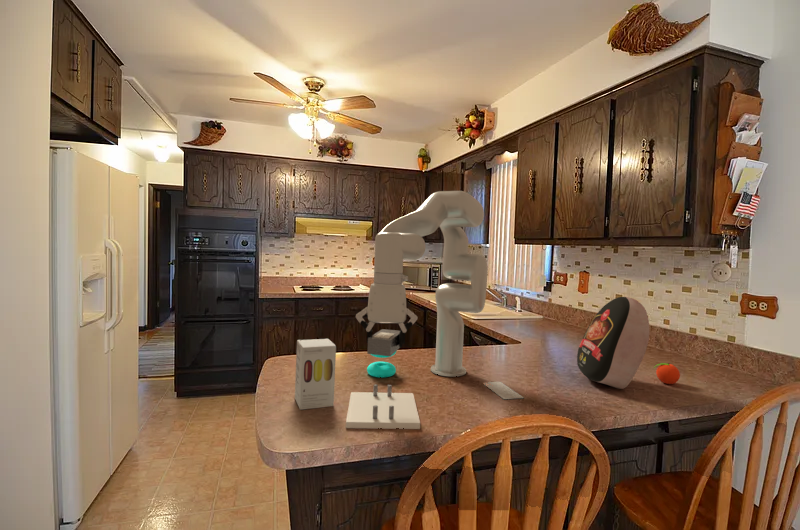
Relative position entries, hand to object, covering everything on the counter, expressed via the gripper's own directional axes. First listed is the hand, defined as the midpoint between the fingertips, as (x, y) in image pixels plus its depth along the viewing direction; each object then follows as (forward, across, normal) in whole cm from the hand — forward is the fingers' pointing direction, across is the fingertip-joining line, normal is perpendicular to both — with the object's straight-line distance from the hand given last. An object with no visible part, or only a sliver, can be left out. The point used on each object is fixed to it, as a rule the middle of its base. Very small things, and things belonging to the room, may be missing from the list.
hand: (385, 345), depth 109 cm
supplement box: (+18, +19, -6) cm, 27 cm away
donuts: (+18, 0, -32) cm, 37 cm away
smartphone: (+18, -38, -18) cm, 46 cm away
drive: (+1, 0, 0) cm, 1 cm away
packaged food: (+18, -78, -27) cm, 84 cm away
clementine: (+18, -99, -28) cm, 104 cm away
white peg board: (+18, 0, 0) cm, 18 cm away
